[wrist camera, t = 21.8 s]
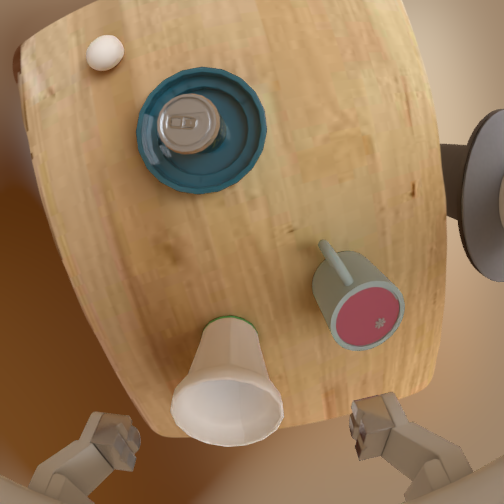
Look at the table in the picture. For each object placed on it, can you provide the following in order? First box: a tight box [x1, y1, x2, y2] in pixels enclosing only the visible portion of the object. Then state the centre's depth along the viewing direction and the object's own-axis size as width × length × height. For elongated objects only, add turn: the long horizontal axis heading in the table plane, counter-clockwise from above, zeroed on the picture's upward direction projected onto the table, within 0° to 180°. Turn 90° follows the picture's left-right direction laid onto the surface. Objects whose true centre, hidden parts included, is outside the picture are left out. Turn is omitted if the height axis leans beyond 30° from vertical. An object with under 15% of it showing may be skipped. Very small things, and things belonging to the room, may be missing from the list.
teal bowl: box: [136, 67, 267, 194], centre depth 32 cm, size 14×14×4 cm
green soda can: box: [157, 93, 226, 155], centre depth 28 cm, size 5×5×12 cm
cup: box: [170, 316, 284, 447], centre depth 37 cm, size 12×12×15 cm
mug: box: [312, 240, 405, 351], centre depth 36 cm, size 14×9×10 cm
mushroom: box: [86, 35, 124, 71], centre depth 28 cm, size 5×5×5 cm
